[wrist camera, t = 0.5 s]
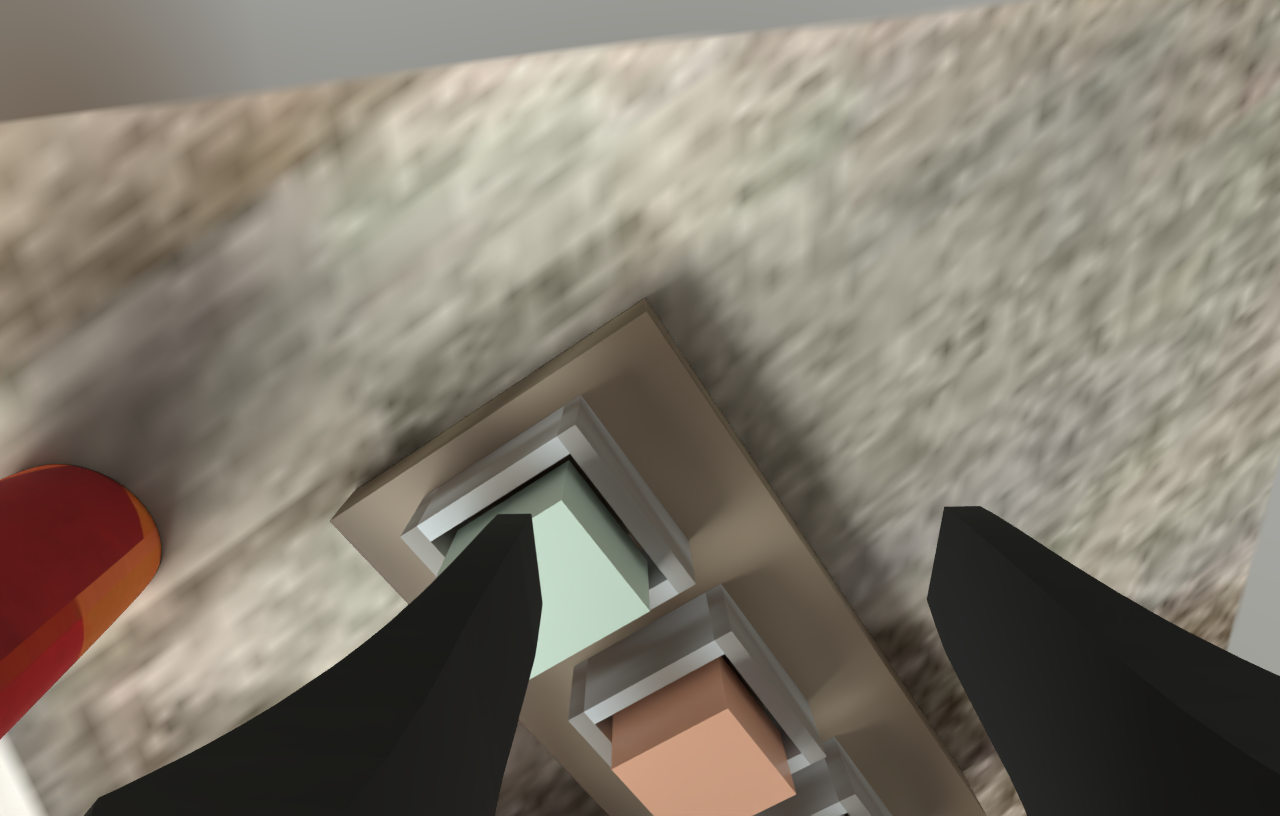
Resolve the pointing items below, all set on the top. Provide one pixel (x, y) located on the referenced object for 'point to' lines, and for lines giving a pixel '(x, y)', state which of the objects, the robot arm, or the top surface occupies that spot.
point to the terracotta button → (701, 748)
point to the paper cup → (64, 573)
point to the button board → (670, 576)
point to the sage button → (573, 564)
